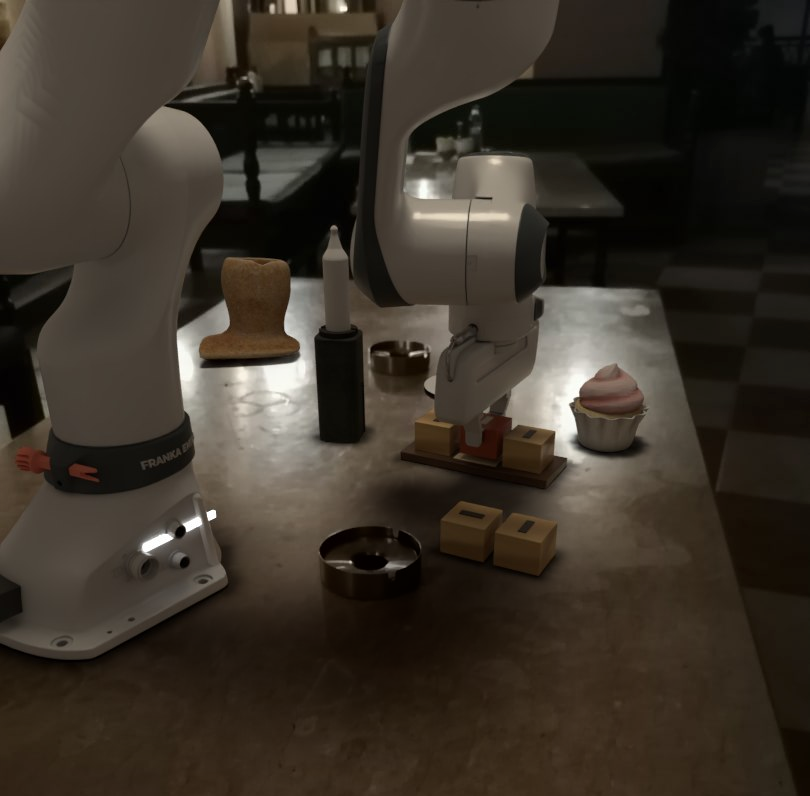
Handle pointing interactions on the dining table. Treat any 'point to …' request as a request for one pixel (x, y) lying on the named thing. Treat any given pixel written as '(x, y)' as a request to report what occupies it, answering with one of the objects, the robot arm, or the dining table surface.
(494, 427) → the red cube
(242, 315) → the stone cup
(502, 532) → the tan wooden cube
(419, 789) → the dining table surface
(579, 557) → the dining table surface
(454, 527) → the tile
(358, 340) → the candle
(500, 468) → the tray with tiles
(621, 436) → the cupcake
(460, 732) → the dining table surface
